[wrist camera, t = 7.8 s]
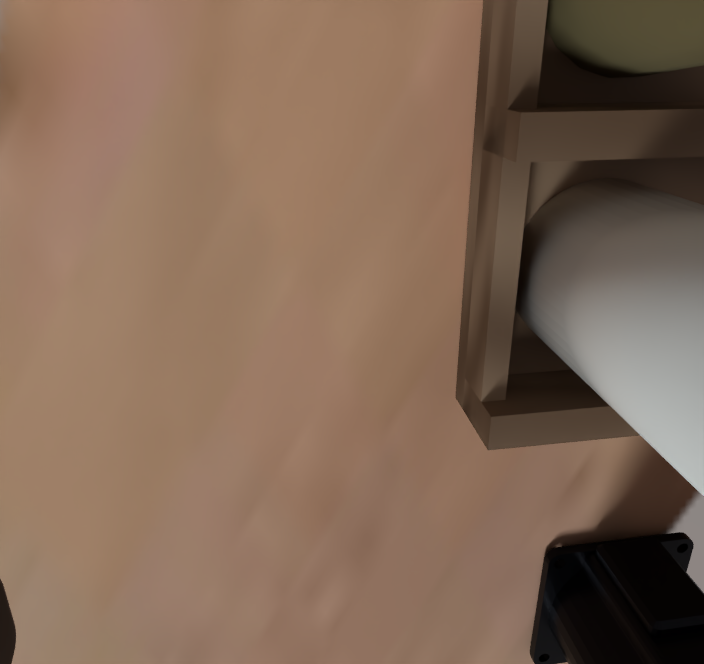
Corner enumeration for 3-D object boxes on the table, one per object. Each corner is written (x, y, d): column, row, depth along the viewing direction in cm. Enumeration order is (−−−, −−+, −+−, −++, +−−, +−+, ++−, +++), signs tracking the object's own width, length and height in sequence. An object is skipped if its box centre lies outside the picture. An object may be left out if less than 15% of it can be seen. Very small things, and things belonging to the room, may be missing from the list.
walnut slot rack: (661, 379, 24) (722, 427, 21) (455, 397, 22) (487, 450, 19) (803, -266, 16) (932, -340, 13) (503, -288, 15) (568, -374, 12)
